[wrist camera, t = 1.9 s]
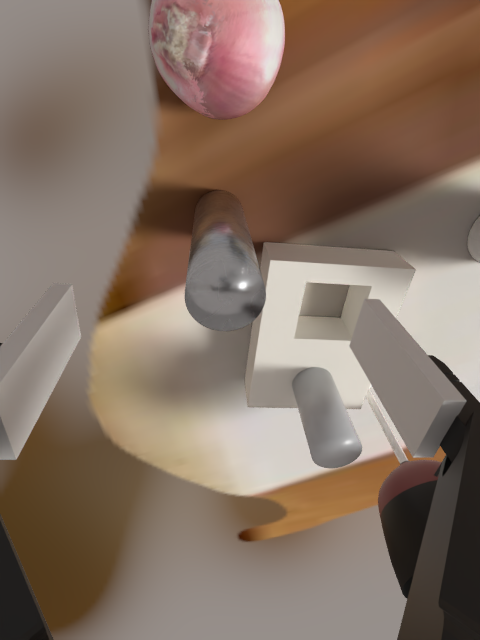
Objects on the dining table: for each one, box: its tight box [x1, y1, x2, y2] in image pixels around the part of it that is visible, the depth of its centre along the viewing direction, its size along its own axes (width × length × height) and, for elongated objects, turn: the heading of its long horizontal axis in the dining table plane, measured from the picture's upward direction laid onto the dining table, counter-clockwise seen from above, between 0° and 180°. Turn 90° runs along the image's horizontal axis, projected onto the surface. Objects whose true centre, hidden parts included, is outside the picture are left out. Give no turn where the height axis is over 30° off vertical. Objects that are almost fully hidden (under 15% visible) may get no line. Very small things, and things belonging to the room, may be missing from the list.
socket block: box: [245, 242, 416, 468], centre depth 31 cm, size 16×12×12 cm
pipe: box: [185, 190, 266, 331], centre depth 23 cm, size 4×4×14 cm
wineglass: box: [366, 384, 442, 599], centre depth 32 cm, size 8×9×20 cm
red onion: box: [149, 0, 285, 120], centre depth 20 cm, size 8×8×7 cm
